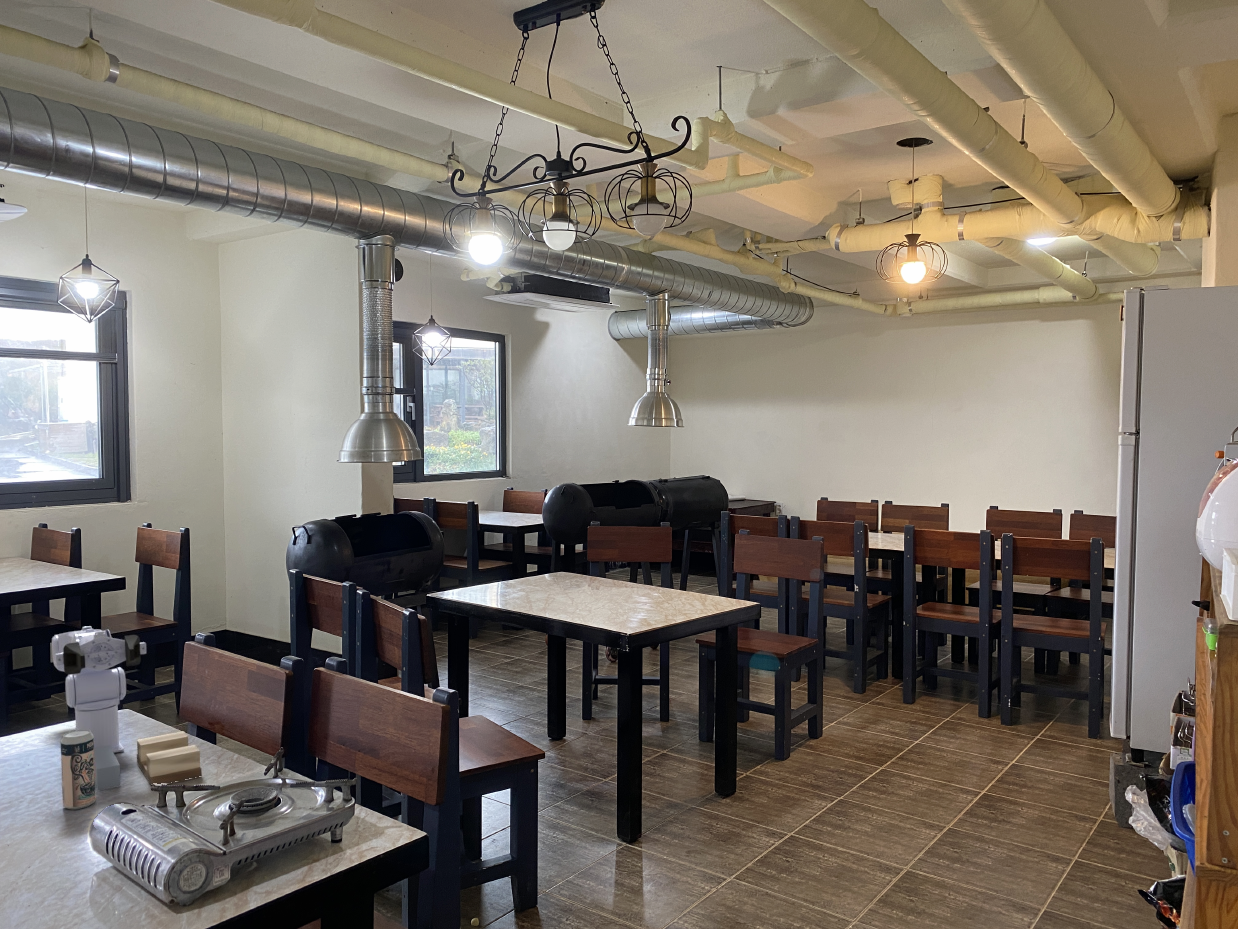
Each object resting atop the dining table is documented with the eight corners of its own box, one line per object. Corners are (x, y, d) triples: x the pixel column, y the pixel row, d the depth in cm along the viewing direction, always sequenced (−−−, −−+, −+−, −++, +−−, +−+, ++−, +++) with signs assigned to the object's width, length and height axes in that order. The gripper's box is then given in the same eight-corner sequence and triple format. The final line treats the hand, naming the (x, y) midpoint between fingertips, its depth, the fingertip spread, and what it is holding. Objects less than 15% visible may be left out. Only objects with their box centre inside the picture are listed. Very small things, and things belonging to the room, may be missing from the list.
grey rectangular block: (88, 771, 170) (87, 749, 170) (110, 766, 172) (109, 745, 172) (97, 792, 160) (96, 769, 159) (120, 787, 162) (119, 764, 161)
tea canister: (80, 812, 150) (78, 738, 150) (55, 810, 151) (53, 737, 151) (102, 800, 155) (100, 729, 155) (78, 798, 156) (75, 728, 156)
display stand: (136, 762, 173) (136, 738, 173) (183, 753, 178) (182, 729, 178) (152, 787, 160) (151, 762, 160) (201, 777, 165) (200, 752, 165)
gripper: (52, 635, 171) (59, 641, 160) (139, 624, 179) (151, 629, 168) (54, 673, 171) (60, 682, 160) (141, 661, 179) (153, 668, 168)
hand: (107, 658), depth 164 cm, fingers open, 7 cm apart
